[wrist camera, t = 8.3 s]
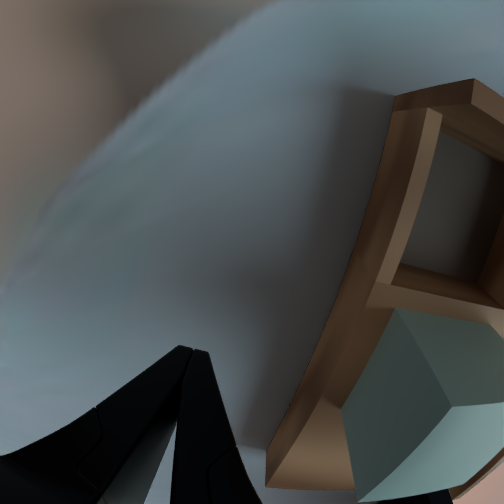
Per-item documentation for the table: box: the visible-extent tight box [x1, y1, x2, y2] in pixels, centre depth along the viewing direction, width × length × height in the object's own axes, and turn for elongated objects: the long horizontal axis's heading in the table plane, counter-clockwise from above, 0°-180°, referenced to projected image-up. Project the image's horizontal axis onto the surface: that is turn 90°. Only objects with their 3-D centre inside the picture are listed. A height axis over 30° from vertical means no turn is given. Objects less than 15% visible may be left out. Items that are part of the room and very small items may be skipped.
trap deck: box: [265, 78, 504, 500], centre depth 10 cm, size 18×13×4 cm
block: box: [341, 308, 504, 502], centre depth 7 cm, size 4×4×4 cm
